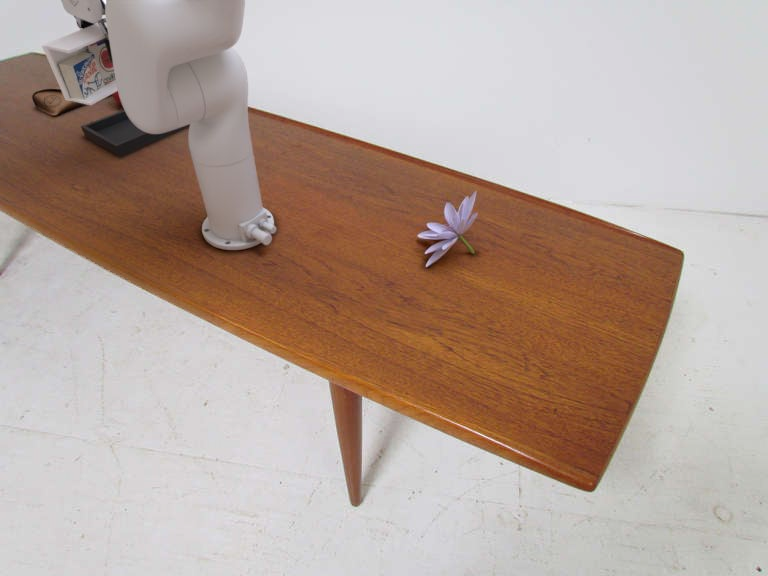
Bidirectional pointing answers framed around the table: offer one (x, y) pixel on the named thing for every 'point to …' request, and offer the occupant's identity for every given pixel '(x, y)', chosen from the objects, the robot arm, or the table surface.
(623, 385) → the table surface
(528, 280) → the table surface
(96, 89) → the cigarette display
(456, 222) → the water lily
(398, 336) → the table surface
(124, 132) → the tray
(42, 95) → the sunglasses case
